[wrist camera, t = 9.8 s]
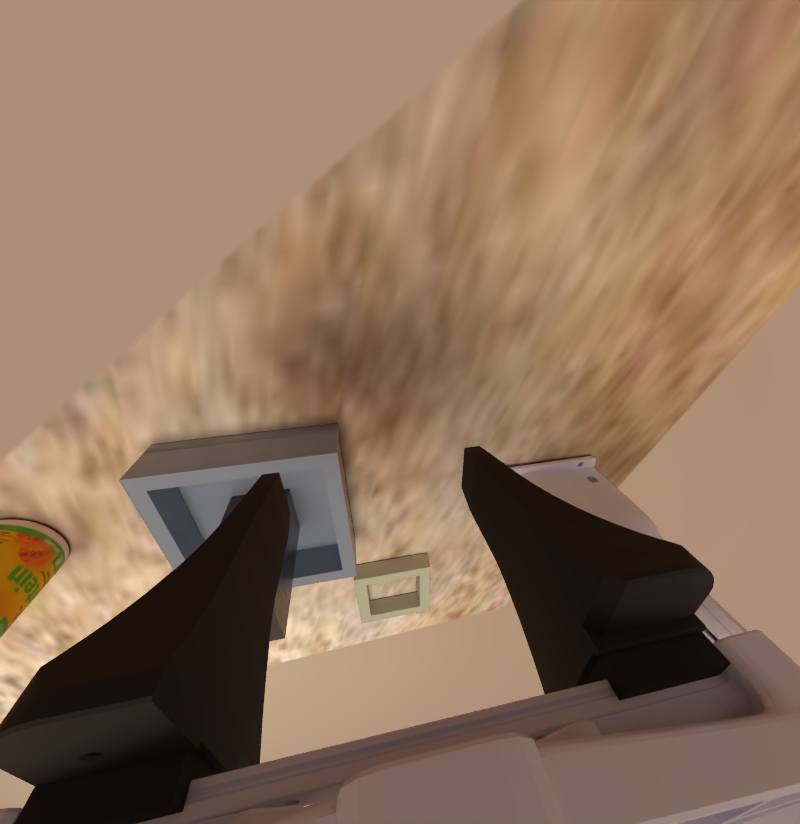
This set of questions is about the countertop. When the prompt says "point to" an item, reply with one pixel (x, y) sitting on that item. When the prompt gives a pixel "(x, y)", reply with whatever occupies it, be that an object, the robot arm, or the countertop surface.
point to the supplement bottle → (26, 565)
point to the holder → (390, 572)
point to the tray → (235, 475)
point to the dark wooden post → (286, 572)
